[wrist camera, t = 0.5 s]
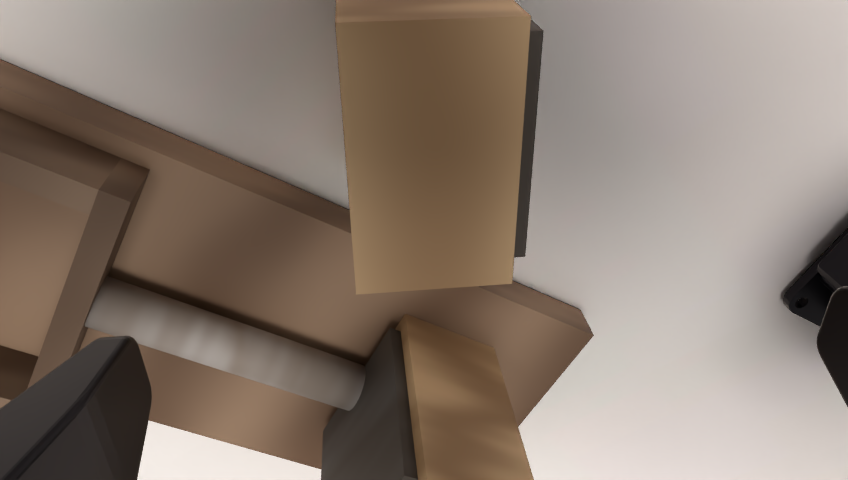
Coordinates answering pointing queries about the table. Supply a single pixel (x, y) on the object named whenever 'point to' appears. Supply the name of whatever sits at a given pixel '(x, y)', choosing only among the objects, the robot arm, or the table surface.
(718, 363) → the table surface
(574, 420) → the table surface
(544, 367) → the rail
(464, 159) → the tan wooden block
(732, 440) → the table surface
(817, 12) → the table surface
